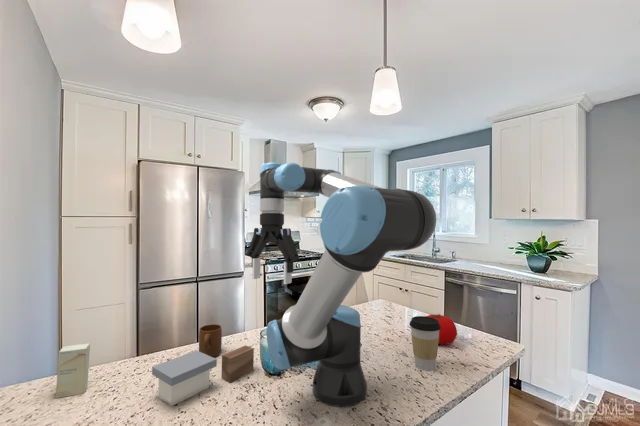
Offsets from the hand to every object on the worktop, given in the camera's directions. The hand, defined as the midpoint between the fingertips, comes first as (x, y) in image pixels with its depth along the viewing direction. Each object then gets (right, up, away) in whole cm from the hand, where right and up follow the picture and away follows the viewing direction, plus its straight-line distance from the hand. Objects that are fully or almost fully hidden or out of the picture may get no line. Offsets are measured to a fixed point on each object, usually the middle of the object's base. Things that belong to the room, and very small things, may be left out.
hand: (271, 280), depth 94 cm
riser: (-10, -29, -1) cm, 30 cm away
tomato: (+62, -30, +26) cm, 74 cm away
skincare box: (-53, -28, -11) cm, 61 cm away
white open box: (-22, -28, -11) cm, 38 cm away
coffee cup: (+50, -29, +5) cm, 58 cm away
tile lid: (-22, -22, -11) cm, 33 cm away
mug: (-24, -29, +11) cm, 39 cm away
